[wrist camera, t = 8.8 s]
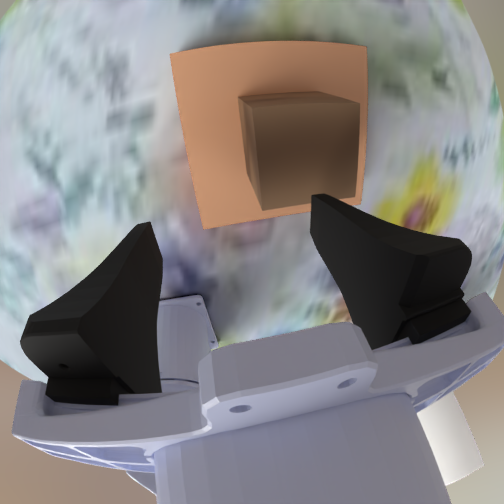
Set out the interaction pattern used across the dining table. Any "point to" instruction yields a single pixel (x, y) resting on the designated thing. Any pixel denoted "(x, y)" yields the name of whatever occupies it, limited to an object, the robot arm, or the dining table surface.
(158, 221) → the dining table surface
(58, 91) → the dining table surface
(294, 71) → the terracotta plinth
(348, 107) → the walnut block
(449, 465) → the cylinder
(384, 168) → the dining table surface
